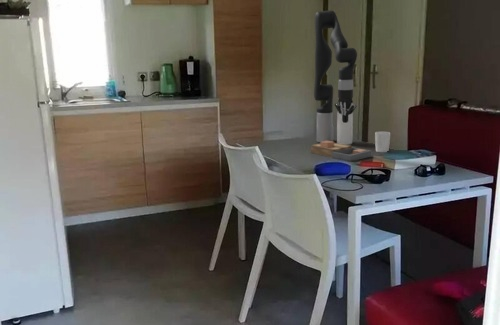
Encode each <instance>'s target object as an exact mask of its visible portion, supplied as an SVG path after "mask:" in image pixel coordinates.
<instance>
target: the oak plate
mask: <svg viewBox="0 0 500 325" xmlns="http://www.w3.org/2000/svg"><path fill="white" fill-rule="evenodd" d="M348 148H353V147H352V145H351V144H350V145H344V144H339V143H337V142H334V147H329V148H326V147H320V143H317V144H312V145H310V153H311V154H315V155H319V156H324V157H328V158H329V157H330V158H332V152H334V151H339V150H343V149H348Z"/></svg>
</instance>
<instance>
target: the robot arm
mask: <svg viewBox="0 0 500 325" xmlns="http://www.w3.org/2000/svg"><path fill="white" fill-rule="evenodd" d="M324 29H332V31H331V33H330V38H329V40H330V43H331V45H332V47H333V49H334V57H335V60H336V62H338V63H341V64H342V63H343V64H345V63H346V66H343V67H340V68H339V69H338V83H337V84H338V85H337V98H338V99H337V103H334V106H335V108H336V111H337V112H339V114H342V121H343V123H347V122H348V115H350V114H352V112H353V113H354V111H355V109H356V108H357V105H356V104H354V100H353V98H354V70H355V65H356V62H357V58H358V53H357V52H358V51H357V50H356V49H355V48H354V47H349V45H348V41H347V39H346V38H345V36H344V34H343V32H342V29H341V24H340V21H339V19H338V16H337V13H336V12H335V11H334V10H332V9H331V10H322V11H317V12H316V13H315V14H314V33H315V34H314V35H315V46H314V48H315V51H314V71H315V72H314V75H315V76H314V88H313V96H314V100H315V101H317V102H319V101H320V102H323V101H324V102H325V101H326V103H324V104H323V105H320V106H317V107H316V142H318V143H320V142H322V141H333V142H335V141H334V138H335V137H334V136H335V135H334V133H335V130H334V129H335V128H334V126H335V125H334V124H333V118H334V117H333V113H334V112H333V101H334V86H333V84H329V83H328V84H321V83H322V80H323V77H324V76H325V75H326V73H327V72H328V70H329V69H330V67H331V66H332V61H333V59H332V58H333V52H332V49H331V47H330V45H329V44H328V43H327V41H326V39H325V37H324V34H323V30H324ZM343 108H344V109H343Z"/></svg>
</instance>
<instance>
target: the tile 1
mask: <svg viewBox="0 0 500 325" xmlns="http://www.w3.org/2000/svg"><path fill="white" fill-rule="evenodd" d="M334 143H335V141H322V142H319V144H320V147H326V148H329V147H334Z"/></svg>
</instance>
